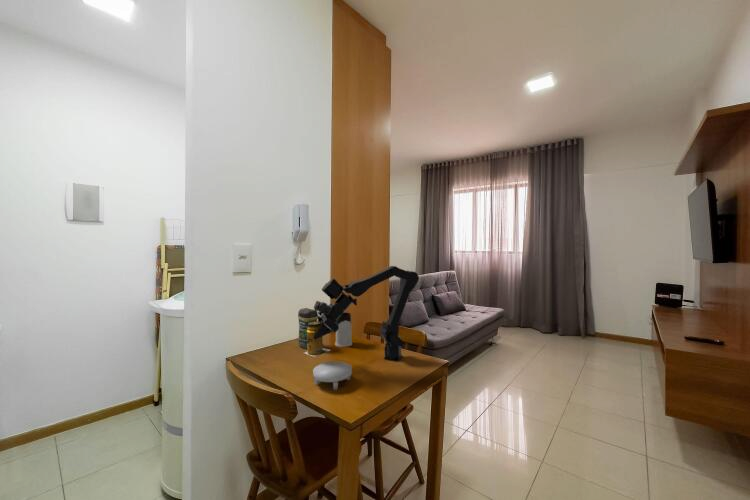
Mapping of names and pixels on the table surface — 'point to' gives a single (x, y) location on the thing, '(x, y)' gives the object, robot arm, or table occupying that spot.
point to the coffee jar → (305, 324)
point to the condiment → (314, 345)
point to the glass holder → (344, 331)
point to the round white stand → (332, 373)
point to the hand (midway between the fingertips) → (313, 336)
